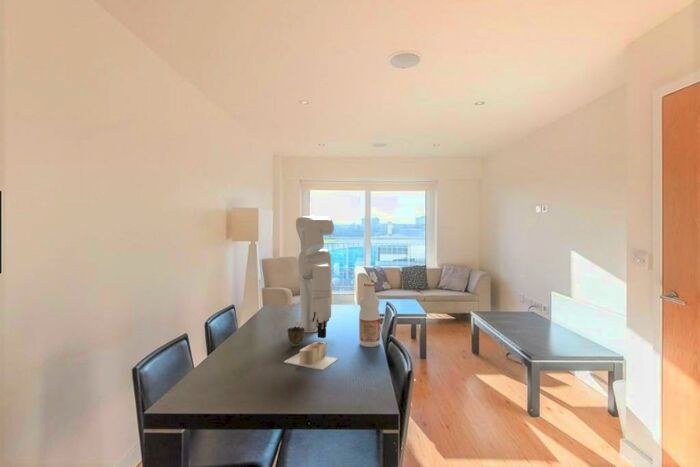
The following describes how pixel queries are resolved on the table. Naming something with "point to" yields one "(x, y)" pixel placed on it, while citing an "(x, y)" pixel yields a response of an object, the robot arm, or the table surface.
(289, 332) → the cup
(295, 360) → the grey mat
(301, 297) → the robot arm
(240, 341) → the table surface
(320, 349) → the maple block
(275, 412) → the table surface
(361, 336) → the fruit juice
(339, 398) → the table surface
